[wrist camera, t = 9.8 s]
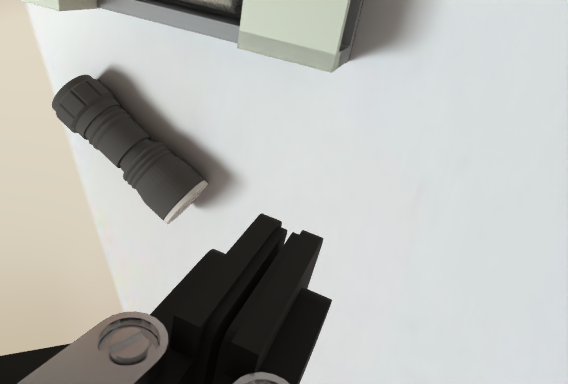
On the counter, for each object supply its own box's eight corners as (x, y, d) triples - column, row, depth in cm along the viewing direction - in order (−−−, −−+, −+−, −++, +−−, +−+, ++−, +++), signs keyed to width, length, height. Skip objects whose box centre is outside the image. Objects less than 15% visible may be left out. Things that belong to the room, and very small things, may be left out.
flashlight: (78, 104, 46) (36, 117, 41) (99, 64, 43) (57, 74, 38) (188, 208, 47) (158, 232, 42) (216, 176, 44) (188, 198, 39)
